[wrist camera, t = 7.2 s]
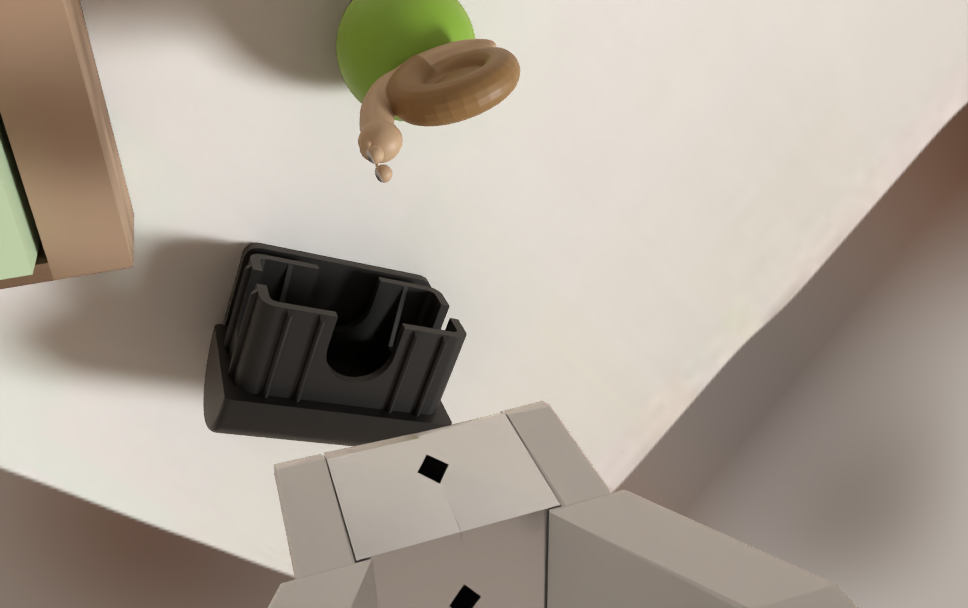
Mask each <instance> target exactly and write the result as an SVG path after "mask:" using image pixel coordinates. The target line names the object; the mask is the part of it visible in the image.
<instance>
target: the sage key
mask: <svg viewBox="0 0 968 608" xmlns="http://www.w3.org/2000/svg"><path fill="white" fill-rule="evenodd" d="M40 241H41V238H40V235H39V232H38V229H37V226H36V223H35V220H34V216H33V213H32V210H31V207H30V204H29V201H28V198H27V194H26V191H25V188H24V185H23V182H22V179H21V176H20V172H19V169H18V166H17V163H16V160H15V157H14V154H13V151H12V147H11V144H10V141H9V138H8V135H7V132H6V129H5V125H4V122H3V119H2V116H1V113H0V280H2V279H9V278H15V277H21V276H27V275H33V270H34V266H35V262H36V258H37V254H38V249H39V245H40Z"/></svg>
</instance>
